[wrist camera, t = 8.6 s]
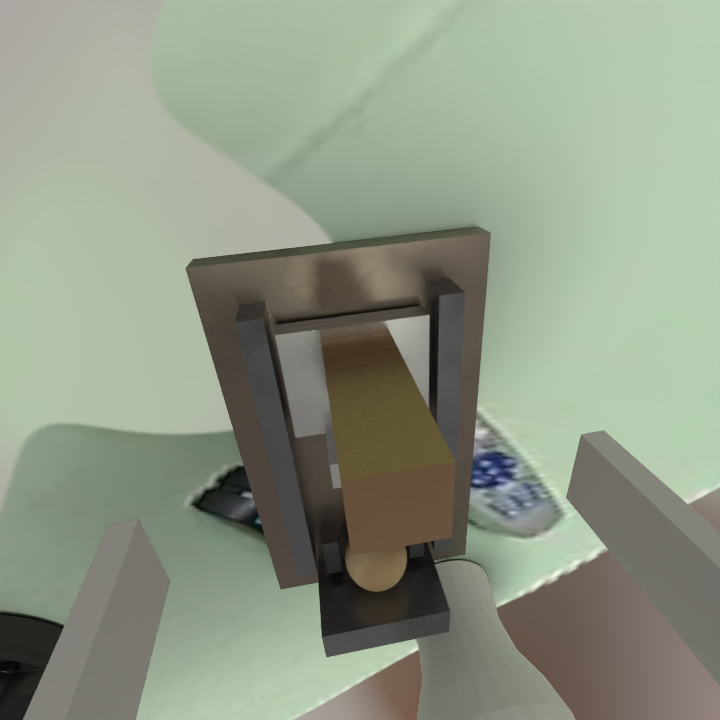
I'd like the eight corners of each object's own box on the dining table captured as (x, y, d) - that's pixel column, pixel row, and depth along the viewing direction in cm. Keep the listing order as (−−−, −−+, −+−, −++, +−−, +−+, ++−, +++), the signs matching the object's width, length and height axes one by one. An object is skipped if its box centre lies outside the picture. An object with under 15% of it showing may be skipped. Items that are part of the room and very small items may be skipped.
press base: (281, 570, 31) (278, 667, 25) (192, 259, 19) (151, 310, 13) (457, 537, 32) (493, 622, 27) (477, 226, 20) (549, 261, 15)
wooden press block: (299, 446, 23) (305, 637, 14) (275, 324, 19) (262, 482, 10) (422, 426, 24) (500, 598, 15) (422, 305, 20) (525, 439, 11)
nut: (344, 553, 29) (352, 610, 25) (338, 515, 27) (346, 571, 23) (399, 543, 29) (414, 598, 26) (398, 504, 27) (413, 559, 24)
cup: (358, 601, 34) (399, 884, 21) (451, 530, 32) (563, 805, 19) (437, 634, 39) (510, 884, 26) (524, 574, 36) (655, 820, 23)
